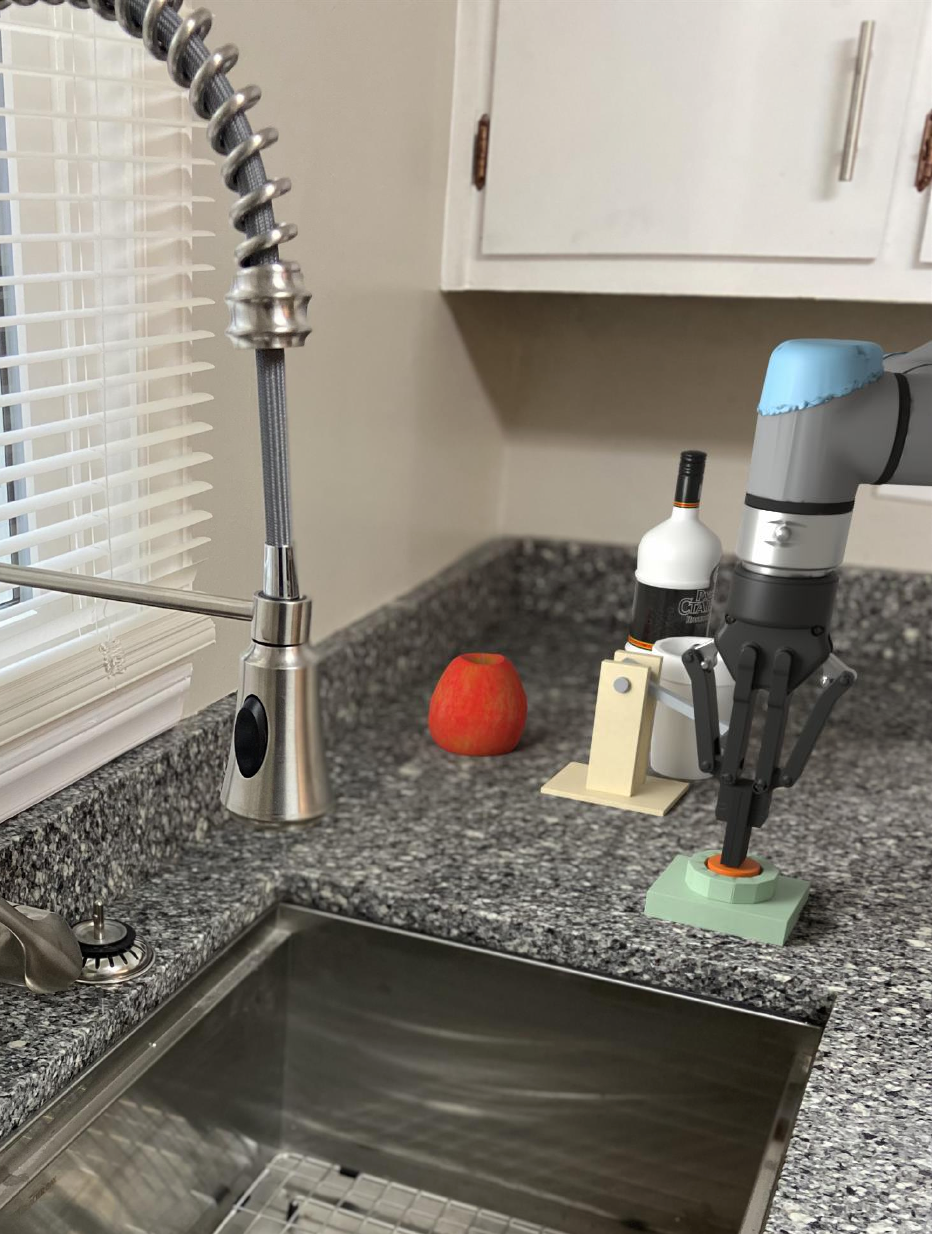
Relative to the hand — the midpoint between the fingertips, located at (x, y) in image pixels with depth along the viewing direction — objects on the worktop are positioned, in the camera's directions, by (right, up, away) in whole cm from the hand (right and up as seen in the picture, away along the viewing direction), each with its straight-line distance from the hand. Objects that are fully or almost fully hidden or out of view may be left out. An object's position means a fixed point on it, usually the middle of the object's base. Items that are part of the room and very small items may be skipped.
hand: (733, 860), depth 120 cm
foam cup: (+6, +10, +31) cm, 34 cm away
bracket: (-3, +8, +25) cm, 27 cm away
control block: (0, -4, +2) cm, 5 cm away
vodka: (+6, +16, +42) cm, 45 cm away
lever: (+1, +15, +19) cm, 24 cm away
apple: (-14, +14, +38) cm, 43 cm away
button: (0, -2, +1) cm, 2 cm away
